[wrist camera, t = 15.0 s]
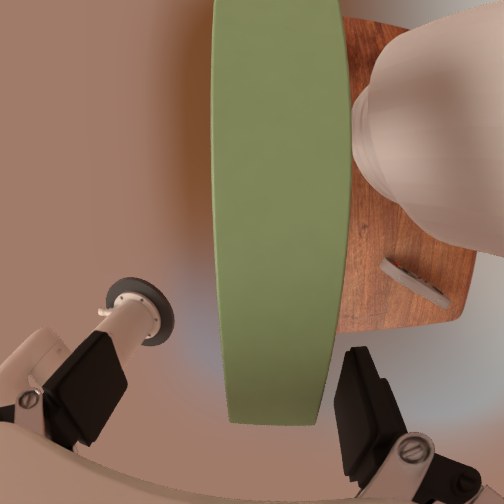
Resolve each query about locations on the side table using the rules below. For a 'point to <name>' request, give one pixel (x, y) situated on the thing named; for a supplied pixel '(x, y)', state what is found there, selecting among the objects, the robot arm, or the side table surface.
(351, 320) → the side table surface
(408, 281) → the grey flat slab
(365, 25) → the side table surface
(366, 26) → the side table surface
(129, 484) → the robot arm
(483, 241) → the table lamp
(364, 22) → the side table surface
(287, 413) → the green bar
